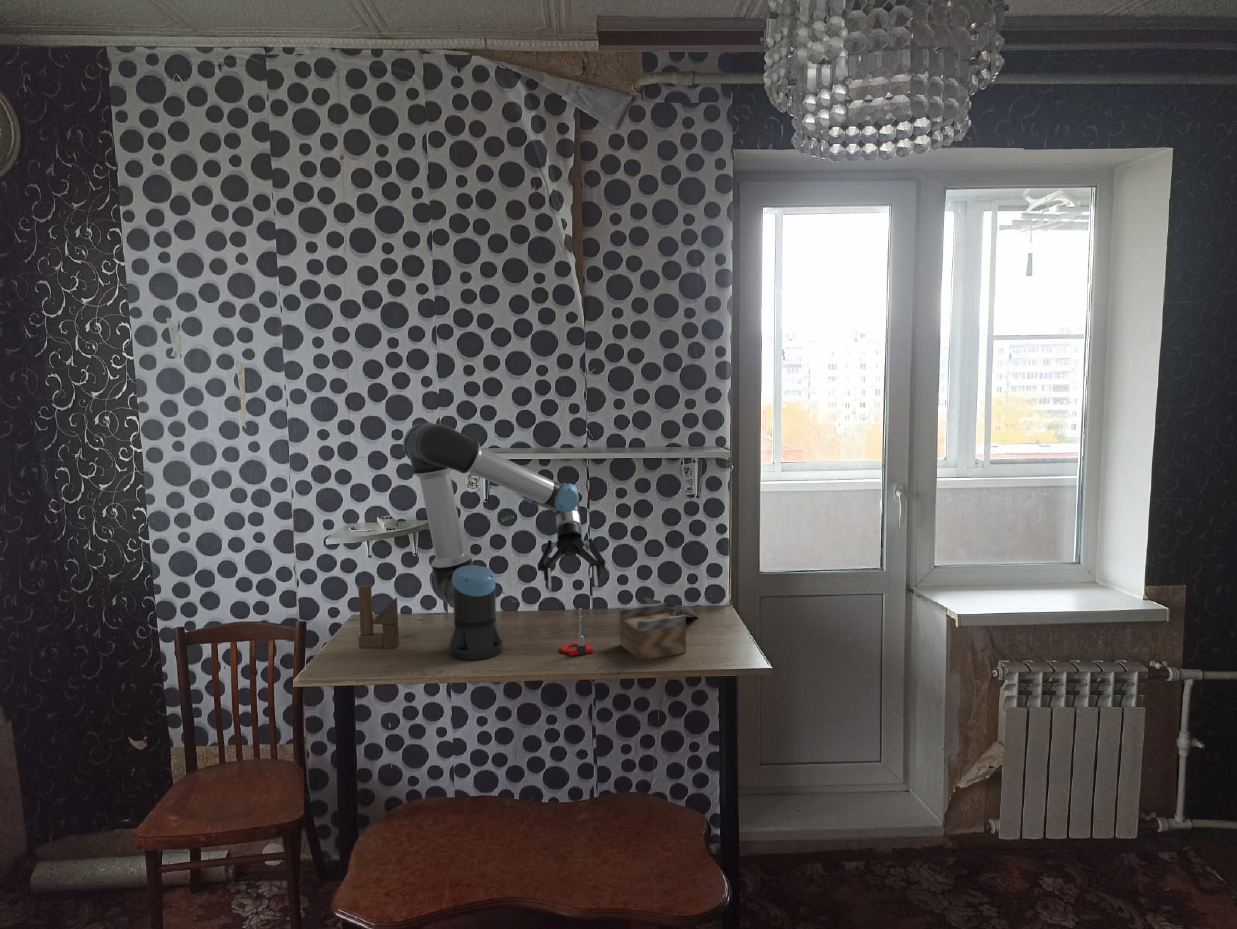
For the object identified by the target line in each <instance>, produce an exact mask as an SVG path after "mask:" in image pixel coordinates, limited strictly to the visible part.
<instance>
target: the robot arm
mask: <svg viewBox="0 0 1237 929" xmlns="http://www.w3.org/2000/svg"><path fill="white" fill-rule="evenodd" d="M402 441H403V442H402V449H403V452H404V453H405V456H406V457H407V459H409V460H410V464H411V470H412V474H413V475H414V476H415V477H417V478H418V479H419V481H420V486H421V491H422V497H423V501H424V506H425V511H426V517H427V522H428V526H429V532H430V537H431V542H432V547H433V551H434V555H435V557H434V559H433V560H432V562H431V569H432V570H431V571H432V573H431V576H430V587H431V589H432V591H433V592H434V594H435V596H436V597H438V599H439V600H441V601H443V602H445V603H446V604H449V605H450V606H451V607H452V608H453V623H454V624H453V625H454V626H453V629H452V634H451V638H450V640H449V644H448V655H449V656H450V657H452V658H453V659H456V660H457V659H458V660H462V661H463V660H464V661H465V660H466V661H476V660H477V661H478V660H484V659H485V660H486V659H489V658H493V657H495V656H499V655H500V654H501V653H502V652H503V651H504V640H503V636H502V635H501V633H500V632H501V631H500V629H499V626H498V624H497V608H496V607H497V606H496V603H497V602H496V600H497V599H496V580H495V574H494V572H493V570H491V569H490V568H489V567H486V566H480V565H477V564H476V565H473V564H474V563H473V560H472V559H473V558H472V555H471V554H470V553H469V552H467V551H466V550H465V545H464V539H463V533H462V529H461V525H460V523H461V522H460V519H459V514H458V513H459V512H458V508H457V504H456V498H455V492H454V488H453V482H452V479H451V471H452V470H454V471H457V472H459V473H461V474H467V473H470V474H473V475H475V476H478V477H479V478H481V479H483V480H485V481H488V482H491V483H493V484H495V485H498V486H500V487H502V488H505V489H507V490H509V491H512V492H514V493H516V494H519V495H520V496H521V498H522V500H523V501H525V502H527V503H529V504H533V505H536V506H538V507H542V508H544V509H545V508H546V509H548V510H550V511H553V512H555V519H556V520H555V522H556V536H557V538H556V540H557V541H552V540H550V539H549V540H547V543H546V544H547V546H546V547H545V550H544V552H543V554H542V555H541V557H540V560H539V561H538V563H537V571H540V572H541V571H543V579H544V582H547V583H548V585H547V586H548V593H552V575H551V574H552V571H551V568H552V567H553V566H554V565H555V564H556V563H557V562H558V561H559V559H561V558H562V557H563V555H564V556H566V557H567V556H568V557H569V556H577V555H578V556H579V557H580V558H582V559H584V560H585V561H586V563H588V564H589V565H590V566H592V567H593V568H592V571H593V572H592V574H593V581H594V590H598V587H599V583H598V579H600V578H601V576H602V574H601V569H602V568H605V567H606V560H605V559H604V557H603V556H602V555H601V552H600V551H599V550H598V549H597V547H596V546H595V544H594V541H593V538H588V540H583V536H582V522H581V512H580V497H579V496H580V495H579V491H578V489H577V487H576V486H575V485H574V484H573V483H570V482H569V483H565V482H563V483H558V482H557V481H553V480H552V479H550V478H548V477H546V476H544V475H542V474H539V473H537V472H535V471H532V470H531V469H529V468H526V467H525V466H522V465H520V464H517V463H515V462H513V461H511V460H509V459H507V458H504V457H503V456H500V455H498V454H496V453H494V452H491V451H490V450H487V449H485V448H483V447H481V445H480V443H479V442H478V441H476V440H474V439H473V438H470V437H468V436H467V435H465V434H462V433H461V432H460V431H458V430H456V429H454V428H452V427H451V426H449V425H445V424H442V423H432V422H420V423H417V424H414V425H413V426H412V427H410V428H409V429H408V430H407V431H406V432H405V435H404V437H403V440H402ZM584 546H585V547H586V548H587V549H588V550H589V551H590V553H591V554H592V555H593V556H592V555H591V554H590V553H589V552H588V551H587V550H586V549H585V548H584ZM555 548H557V551H555V553H554V554H553V555H552V556H551V558H549V556H550V555H551V552H552V550H554V549H555ZM548 558H549V560H548Z"/></svg>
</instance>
